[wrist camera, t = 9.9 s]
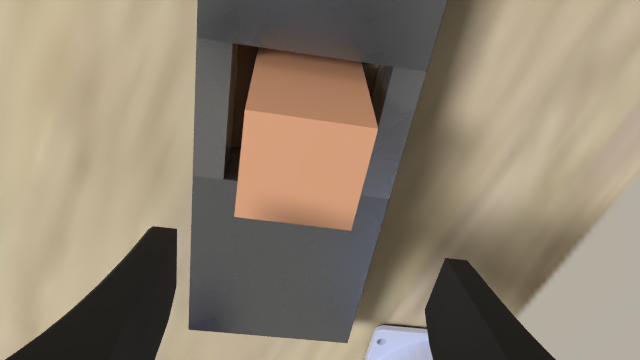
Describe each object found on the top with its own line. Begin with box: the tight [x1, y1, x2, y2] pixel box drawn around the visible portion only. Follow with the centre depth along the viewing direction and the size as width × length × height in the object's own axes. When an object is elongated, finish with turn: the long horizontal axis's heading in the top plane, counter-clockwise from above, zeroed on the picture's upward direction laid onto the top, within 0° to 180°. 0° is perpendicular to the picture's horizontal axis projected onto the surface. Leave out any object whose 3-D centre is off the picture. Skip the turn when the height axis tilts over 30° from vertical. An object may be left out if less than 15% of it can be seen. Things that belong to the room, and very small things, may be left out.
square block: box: [234, 47, 378, 231], centre depth 19 cm, size 4×4×6 cm
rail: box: [189, 0, 447, 343], centre depth 20 cm, size 24×8×2 cm, turn 171°
